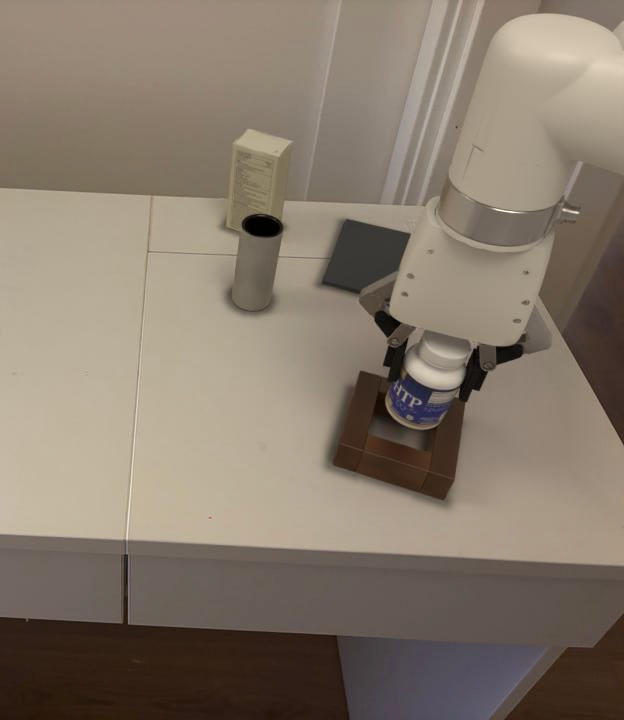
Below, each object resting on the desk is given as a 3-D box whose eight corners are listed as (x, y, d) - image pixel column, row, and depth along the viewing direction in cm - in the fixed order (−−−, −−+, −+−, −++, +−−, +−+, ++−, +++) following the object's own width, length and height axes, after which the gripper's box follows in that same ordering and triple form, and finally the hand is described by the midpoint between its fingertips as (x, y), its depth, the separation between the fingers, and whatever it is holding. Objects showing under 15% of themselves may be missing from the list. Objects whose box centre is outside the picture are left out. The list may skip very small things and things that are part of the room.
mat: (455, 247, 95) (456, 244, 94) (442, 315, 85) (443, 311, 85) (345, 222, 98) (346, 218, 98) (321, 284, 89) (322, 280, 89)
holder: (455, 421, 74) (466, 399, 72) (443, 500, 67) (454, 479, 65) (353, 391, 77) (360, 369, 74) (332, 464, 70) (339, 443, 68)
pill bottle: (373, 395, 69) (402, 326, 63) (419, 382, 71) (452, 313, 65) (405, 438, 66) (440, 369, 60) (454, 423, 68) (492, 355, 61)
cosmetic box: (281, 226, 97) (296, 141, 89) (266, 243, 95) (280, 157, 86) (238, 211, 100) (248, 126, 91) (222, 227, 97) (232, 141, 88)
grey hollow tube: (253, 281, 89) (264, 208, 82) (278, 302, 86) (292, 228, 79) (223, 295, 87) (232, 221, 80) (248, 316, 85) (260, 242, 77)
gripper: (625, 203, 53) (533, 379, 66) (382, 157, 58) (339, 330, 70) (631, 262, 48) (529, 440, 61) (364, 207, 53) (322, 383, 66)
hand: (428, 379), depth 66 cm, fingers closed on pill bottle, 5 cm apart
